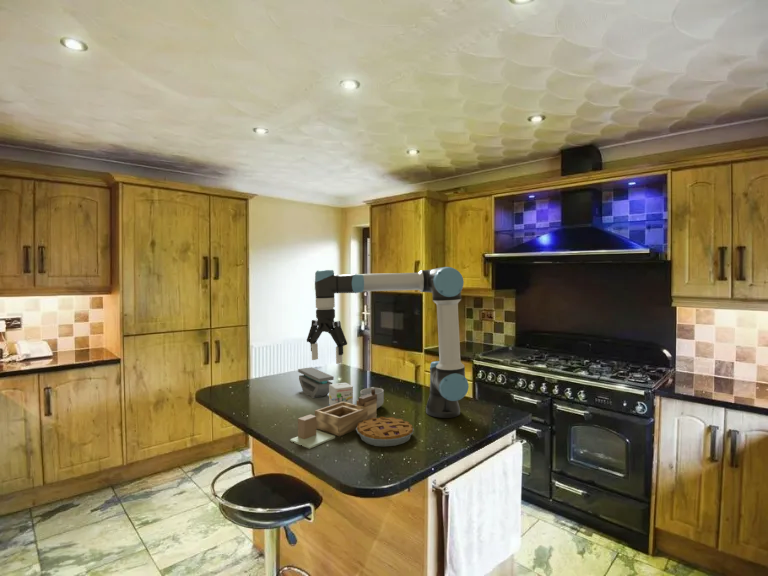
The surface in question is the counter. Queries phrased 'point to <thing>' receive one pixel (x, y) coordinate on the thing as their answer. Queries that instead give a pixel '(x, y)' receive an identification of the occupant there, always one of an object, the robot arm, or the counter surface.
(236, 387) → the counter surface
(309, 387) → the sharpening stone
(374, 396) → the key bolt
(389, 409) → the counter surface
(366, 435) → the pie
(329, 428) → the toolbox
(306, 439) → the lid
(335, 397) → the ink box
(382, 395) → the teacup
